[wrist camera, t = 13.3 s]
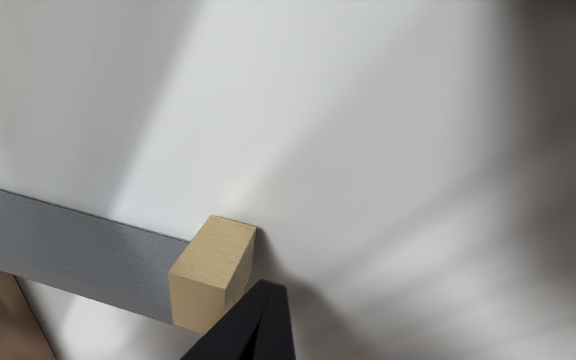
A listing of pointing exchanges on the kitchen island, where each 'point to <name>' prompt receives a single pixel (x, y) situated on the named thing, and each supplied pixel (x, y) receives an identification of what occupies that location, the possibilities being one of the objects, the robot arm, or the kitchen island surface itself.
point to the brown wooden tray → (19, 325)
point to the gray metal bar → (129, 261)
